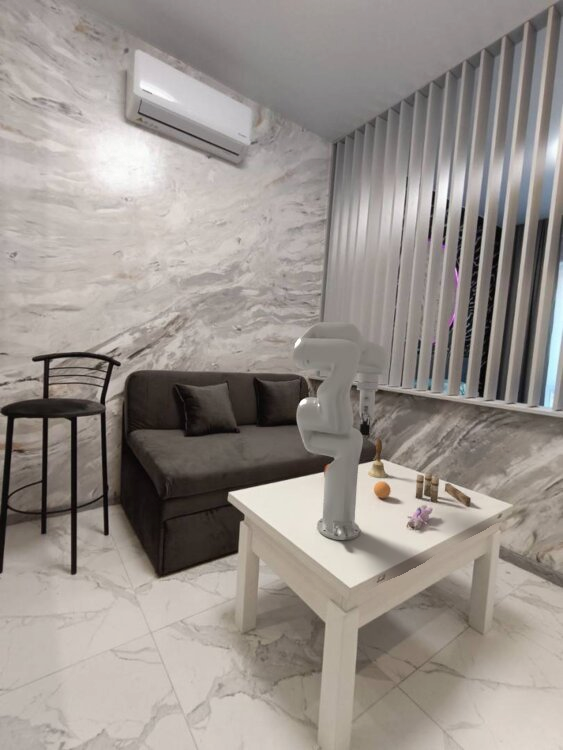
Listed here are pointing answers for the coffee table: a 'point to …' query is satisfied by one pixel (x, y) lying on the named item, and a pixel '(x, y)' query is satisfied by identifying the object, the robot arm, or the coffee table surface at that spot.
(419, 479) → the front pin
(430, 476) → the pin
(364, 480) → the coffee table surface
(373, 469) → the hand bell
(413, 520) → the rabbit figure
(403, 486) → the coffee table surface
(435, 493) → the pin
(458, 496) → the bar
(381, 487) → the ball
